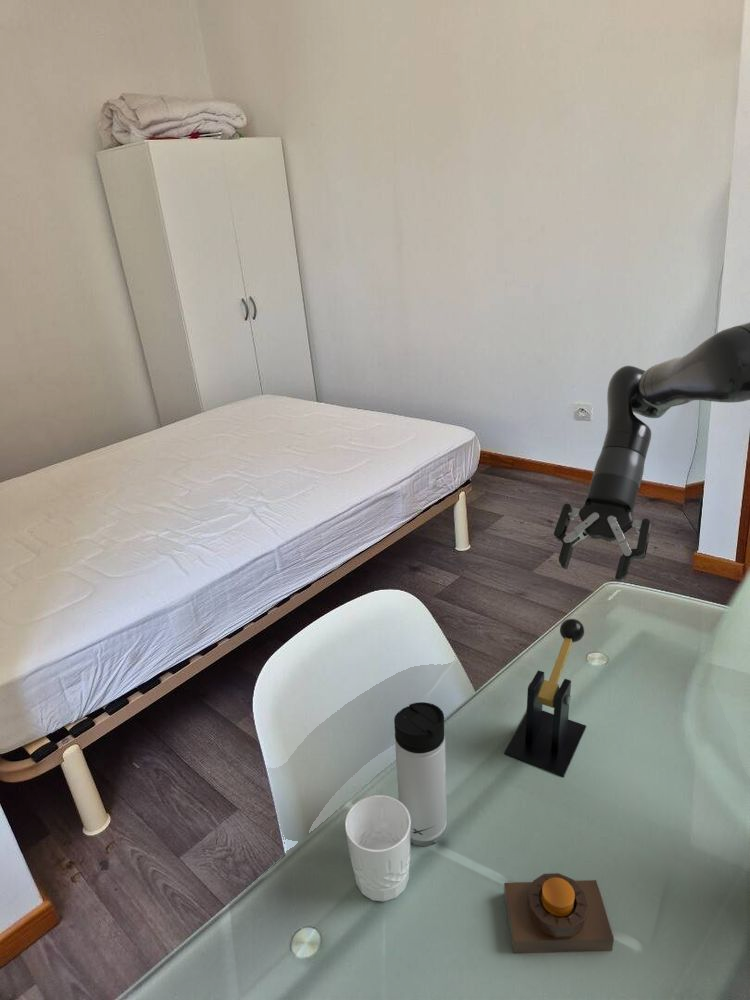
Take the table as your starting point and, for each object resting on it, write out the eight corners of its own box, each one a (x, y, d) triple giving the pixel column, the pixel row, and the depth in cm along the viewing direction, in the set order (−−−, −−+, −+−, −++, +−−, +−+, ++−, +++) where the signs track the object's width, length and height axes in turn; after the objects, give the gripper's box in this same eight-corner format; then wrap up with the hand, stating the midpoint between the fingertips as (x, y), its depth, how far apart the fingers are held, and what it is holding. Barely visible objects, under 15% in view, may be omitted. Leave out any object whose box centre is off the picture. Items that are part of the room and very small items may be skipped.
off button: (569, 886, 80) (570, 876, 79) (577, 916, 77) (578, 906, 76) (538, 887, 80) (539, 877, 80) (545, 917, 77) (545, 907, 76)
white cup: (360, 915, 82) (354, 860, 78) (344, 858, 89) (338, 804, 85) (422, 895, 84) (419, 839, 80) (402, 841, 91) (398, 787, 86)
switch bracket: (529, 711, 111) (532, 653, 105) (585, 731, 106) (591, 671, 101) (503, 758, 102) (505, 697, 97) (563, 781, 98) (568, 719, 93)
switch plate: (594, 891, 83) (597, 869, 81) (612, 951, 77) (615, 929, 75) (503, 894, 84) (504, 872, 82) (513, 953, 77) (514, 931, 75)
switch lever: (565, 623, 108) (563, 611, 106) (587, 629, 107) (586, 617, 104) (535, 703, 101) (532, 692, 99) (559, 711, 100) (556, 701, 97)
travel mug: (424, 858, 88) (419, 743, 80) (390, 825, 93) (382, 713, 84) (458, 829, 92) (457, 716, 83) (424, 799, 97) (420, 689, 88)
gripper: (569, 464, 113) (541, 557, 109) (660, 479, 106) (634, 578, 102) (576, 481, 119) (551, 569, 115) (663, 496, 112) (639, 590, 108)
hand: (590, 573), depth 109 cm, fingers open, 8 cm apart
